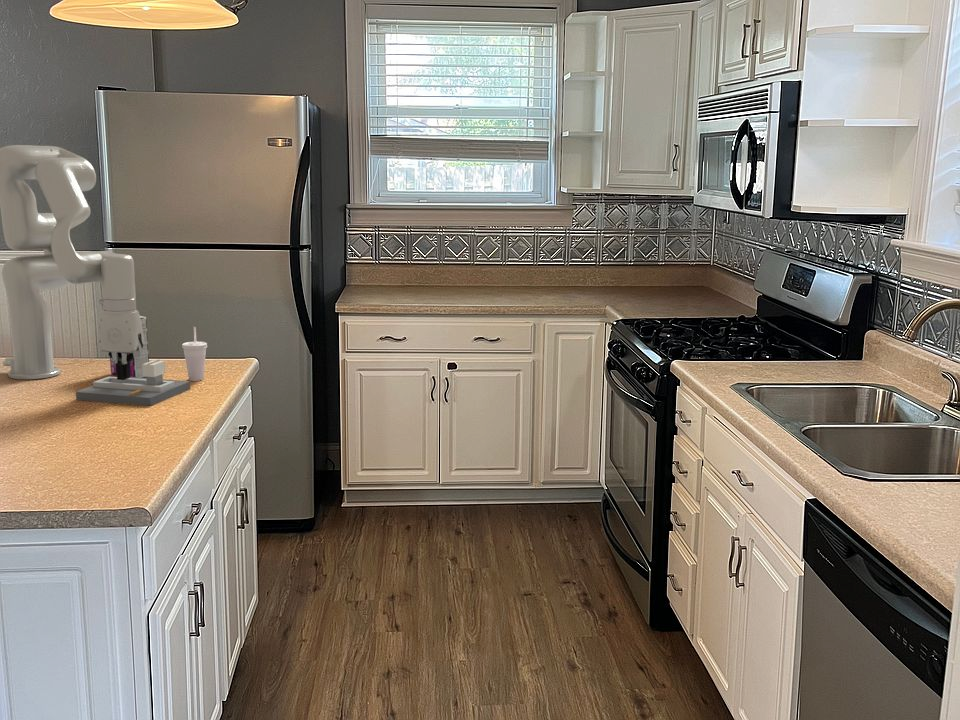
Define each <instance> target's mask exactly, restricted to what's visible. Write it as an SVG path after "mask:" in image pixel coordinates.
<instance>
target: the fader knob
mask: <svg viewBox="0 0 960 720" xmlns="http://www.w3.org/2000/svg"><path fill="white" fill-rule="evenodd" d="M142 365H143V376H145V377H146V378H147V385H155V386H159V385H162V384H163V375H164V374H166V361H165V360H160V359H157V360H155V359H154V360H151V361H150V360H149V362H148V363H145V364H142Z"/></svg>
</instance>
